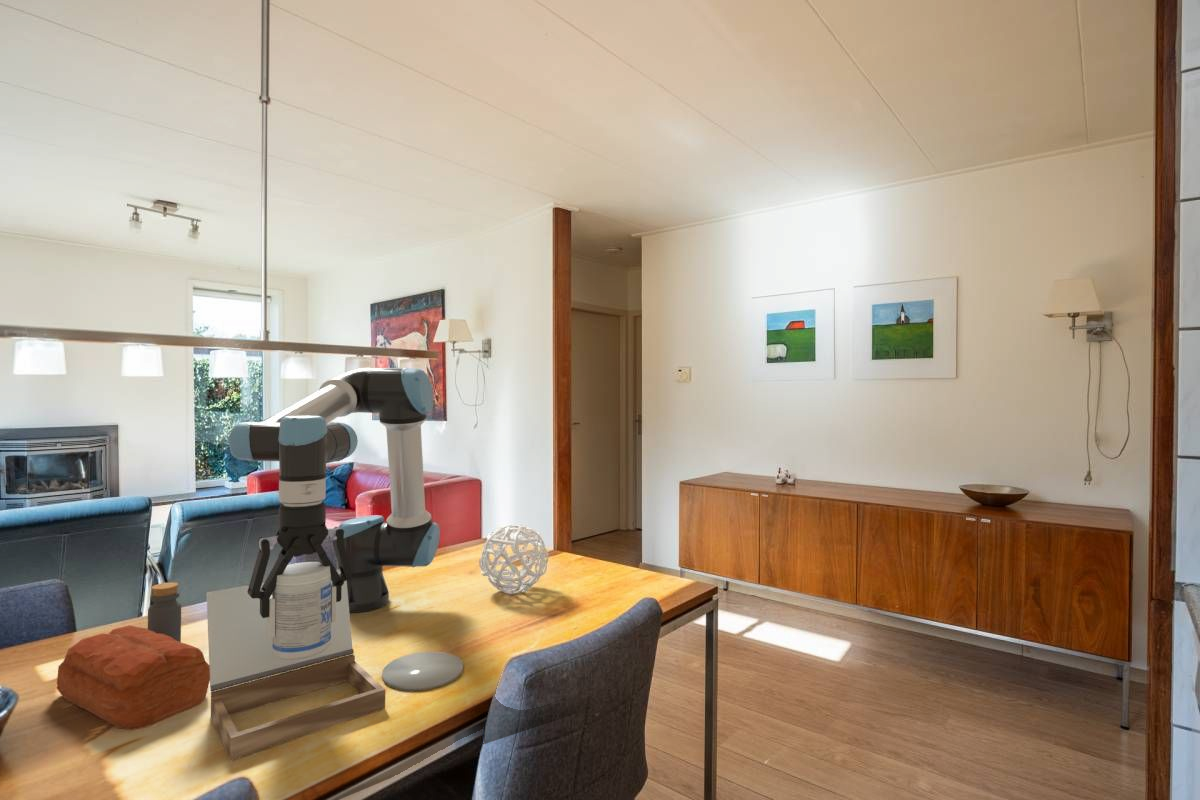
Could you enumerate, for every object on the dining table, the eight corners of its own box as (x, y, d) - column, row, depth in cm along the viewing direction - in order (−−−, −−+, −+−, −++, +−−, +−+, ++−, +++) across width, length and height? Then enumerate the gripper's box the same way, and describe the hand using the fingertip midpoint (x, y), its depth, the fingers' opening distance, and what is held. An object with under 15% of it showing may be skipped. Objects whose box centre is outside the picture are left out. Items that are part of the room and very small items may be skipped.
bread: (121, 738, 99) (122, 674, 99) (48, 698, 112) (49, 641, 112) (219, 697, 113) (219, 641, 113) (144, 665, 126) (144, 614, 126)
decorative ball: (560, 595, 174) (561, 529, 174) (496, 608, 163) (497, 537, 162) (528, 577, 190) (529, 516, 190) (468, 588, 179) (469, 523, 179)
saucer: (369, 669, 125) (369, 665, 125) (440, 649, 136) (440, 645, 136) (402, 699, 113) (402, 695, 113) (477, 674, 124) (477, 670, 124)
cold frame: (210, 717, 106) (210, 692, 106) (352, 676, 122) (352, 654, 122) (230, 760, 94) (230, 731, 94) (385, 708, 110) (385, 683, 110)
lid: (211, 691, 105) (209, 690, 107) (353, 653, 122) (349, 653, 123) (207, 592, 109) (205, 592, 111) (346, 568, 125) (342, 569, 127)
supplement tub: (335, 654, 107) (335, 571, 106) (274, 667, 102) (274, 580, 101) (325, 634, 115) (326, 558, 115) (269, 646, 110) (269, 565, 109)
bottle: (144, 662, 127) (145, 591, 126) (150, 651, 132) (151, 583, 132) (178, 657, 129) (179, 587, 129) (182, 647, 134) (183, 579, 134)
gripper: (236, 514, 97) (235, 651, 98) (372, 498, 112) (371, 618, 113) (226, 506, 103) (226, 636, 104) (357, 492, 118) (356, 606, 118)
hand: (301, 626), depth 108 cm, fingers closed on supplement tub, 9 cm apart
